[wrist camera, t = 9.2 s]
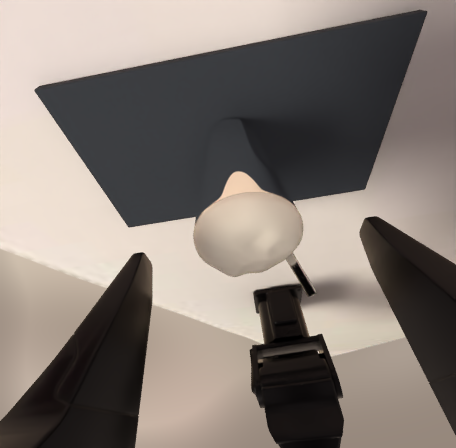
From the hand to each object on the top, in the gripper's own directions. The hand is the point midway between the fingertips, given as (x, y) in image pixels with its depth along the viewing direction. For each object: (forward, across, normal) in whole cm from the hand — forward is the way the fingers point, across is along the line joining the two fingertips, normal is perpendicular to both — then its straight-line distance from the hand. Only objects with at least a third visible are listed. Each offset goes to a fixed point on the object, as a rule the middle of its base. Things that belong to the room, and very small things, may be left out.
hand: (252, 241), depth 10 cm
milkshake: (+8, 0, 0) cm, 9 cm away
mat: (+9, 0, +1) cm, 9 cm away
